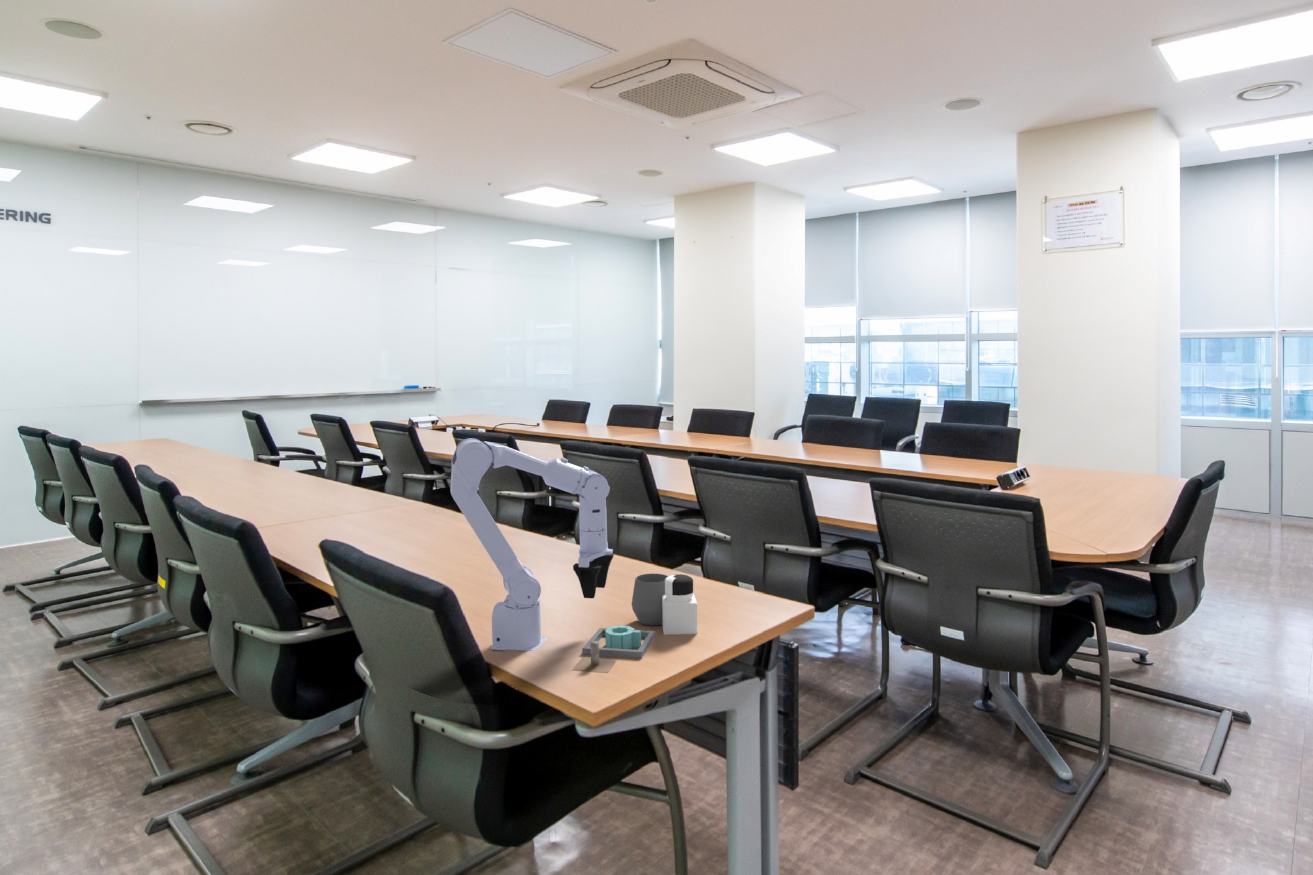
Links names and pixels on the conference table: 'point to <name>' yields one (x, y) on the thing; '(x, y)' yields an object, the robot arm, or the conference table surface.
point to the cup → (649, 598)
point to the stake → (595, 661)
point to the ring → (622, 637)
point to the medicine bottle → (679, 606)
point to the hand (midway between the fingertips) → (594, 592)
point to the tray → (620, 652)
